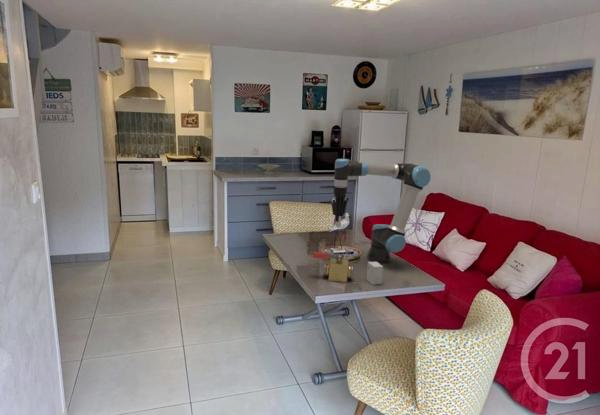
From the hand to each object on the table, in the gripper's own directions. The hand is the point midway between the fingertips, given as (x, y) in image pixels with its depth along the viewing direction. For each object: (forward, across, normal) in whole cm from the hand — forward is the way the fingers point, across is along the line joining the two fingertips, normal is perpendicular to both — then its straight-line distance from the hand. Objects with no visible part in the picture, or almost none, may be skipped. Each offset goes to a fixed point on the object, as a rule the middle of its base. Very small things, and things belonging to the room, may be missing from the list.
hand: (338, 226), depth 240 cm
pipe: (+26, +9, +10) cm, 30 cm away
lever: (+15, +13, +6) cm, 20 cm away
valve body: (+26, +9, +10) cm, 30 cm away
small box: (+27, -5, +25) cm, 37 cm away
